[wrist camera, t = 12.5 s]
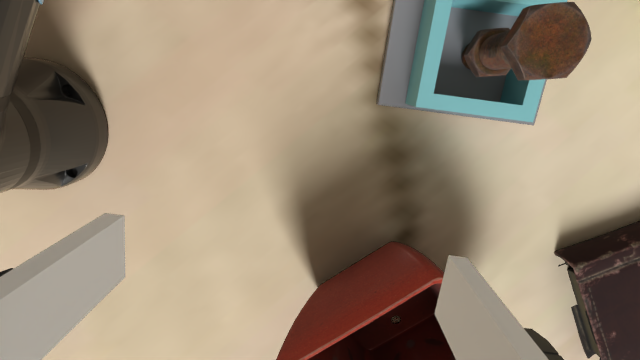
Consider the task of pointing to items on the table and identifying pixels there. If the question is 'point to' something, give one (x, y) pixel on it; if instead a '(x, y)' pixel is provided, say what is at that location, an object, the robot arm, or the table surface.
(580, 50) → the bolt
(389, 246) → the plant pot
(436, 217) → the table surface
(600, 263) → the diary
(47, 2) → the table surface
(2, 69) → the robot arm
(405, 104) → the socket
